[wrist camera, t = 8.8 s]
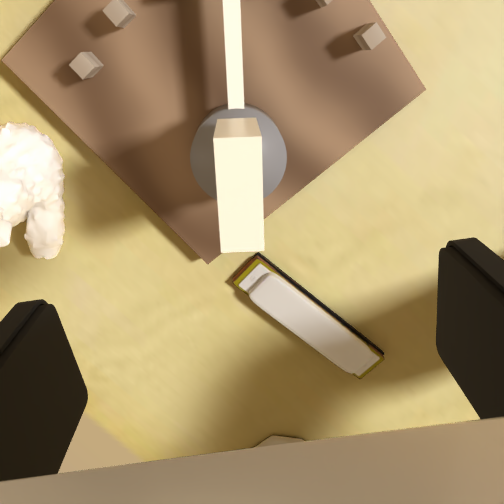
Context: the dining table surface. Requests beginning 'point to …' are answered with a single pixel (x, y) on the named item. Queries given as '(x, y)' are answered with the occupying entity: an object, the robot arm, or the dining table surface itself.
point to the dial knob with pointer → (238, 152)
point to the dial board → (212, 88)
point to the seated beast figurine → (31, 188)
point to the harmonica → (307, 316)
